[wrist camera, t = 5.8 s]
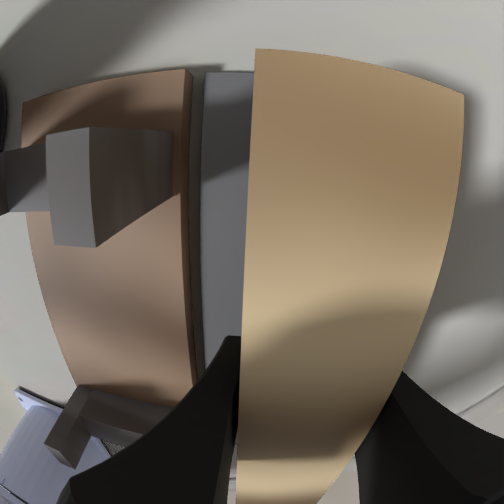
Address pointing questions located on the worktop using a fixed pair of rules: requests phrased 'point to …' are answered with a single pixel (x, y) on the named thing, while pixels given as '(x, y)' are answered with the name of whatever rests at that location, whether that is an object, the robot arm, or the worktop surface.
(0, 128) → the supplement bottle
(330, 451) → the rail
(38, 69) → the worktop surface
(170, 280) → the stand
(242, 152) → the mat
